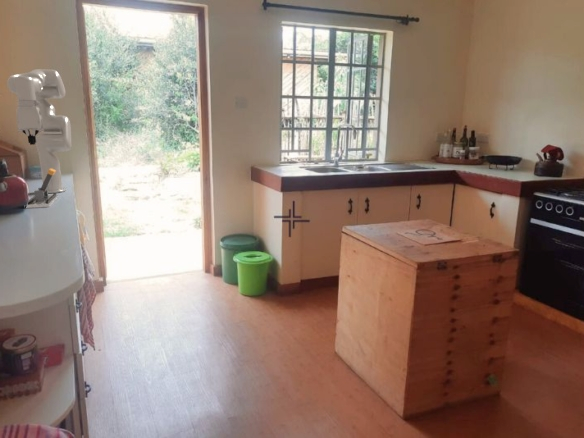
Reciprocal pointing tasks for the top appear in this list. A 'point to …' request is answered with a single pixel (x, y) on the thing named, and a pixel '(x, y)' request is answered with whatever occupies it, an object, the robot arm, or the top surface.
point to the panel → (39, 204)
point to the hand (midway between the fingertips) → (32, 144)
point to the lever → (48, 179)
